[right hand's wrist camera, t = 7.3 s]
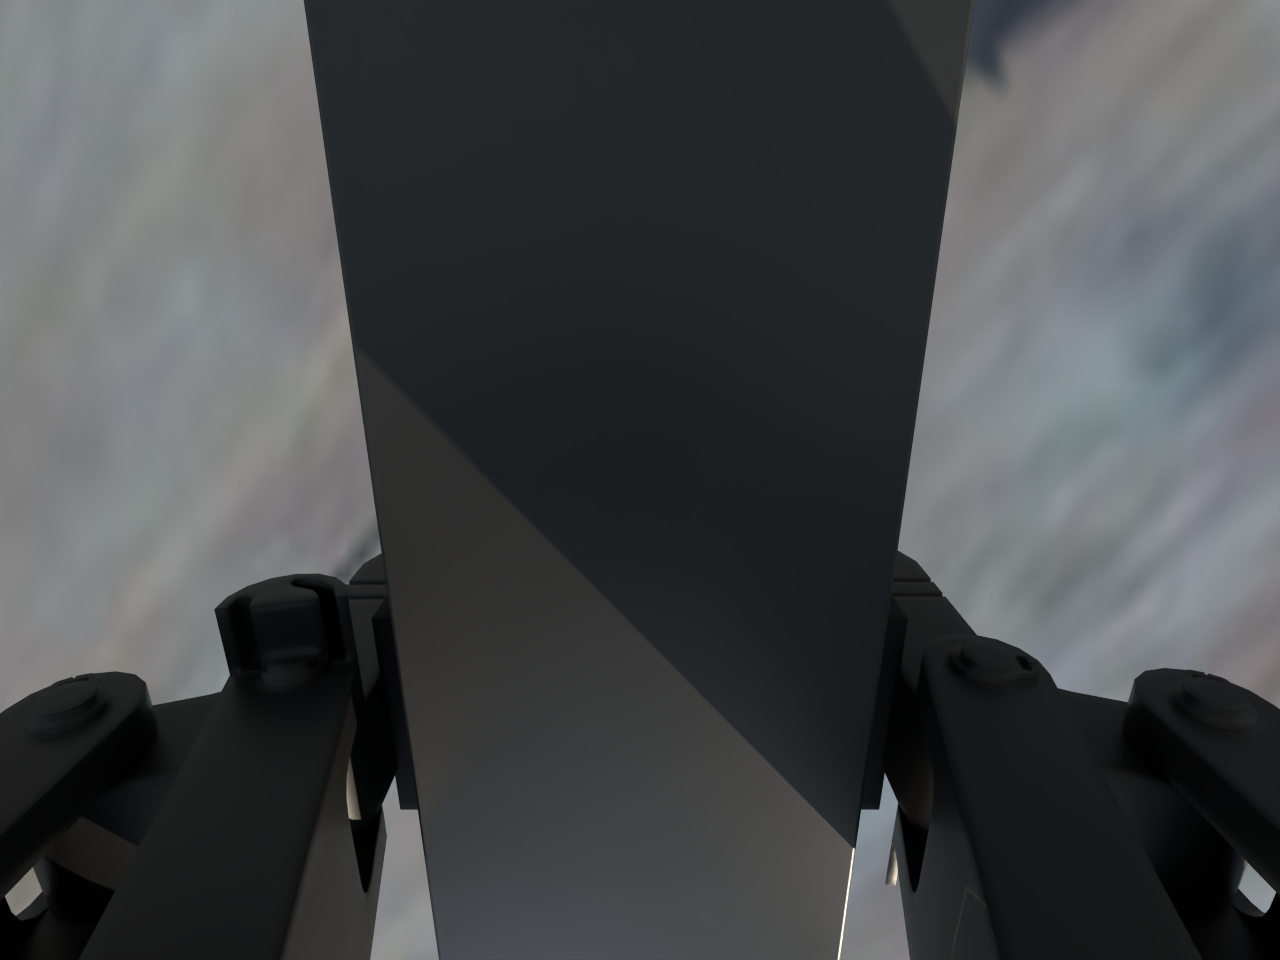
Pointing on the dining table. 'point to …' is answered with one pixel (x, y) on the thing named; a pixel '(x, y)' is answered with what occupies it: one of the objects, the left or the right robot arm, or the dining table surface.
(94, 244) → the dining table surface
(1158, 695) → the right robot arm
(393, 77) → the bar
